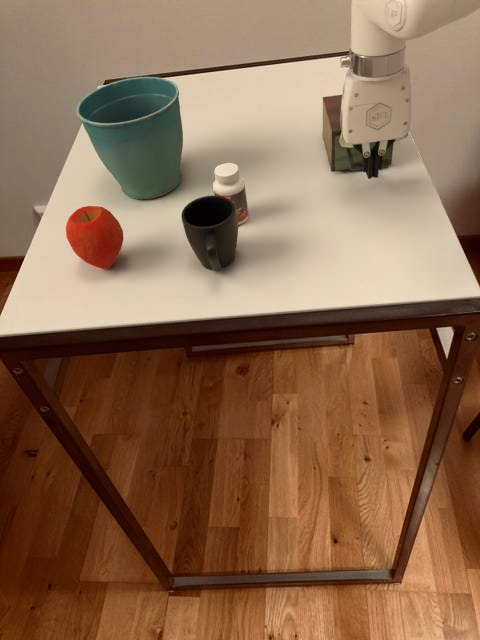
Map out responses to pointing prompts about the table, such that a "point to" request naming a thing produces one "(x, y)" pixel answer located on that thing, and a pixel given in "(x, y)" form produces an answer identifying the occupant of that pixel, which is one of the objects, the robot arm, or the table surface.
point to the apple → (95, 235)
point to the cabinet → (333, 126)
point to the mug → (212, 230)
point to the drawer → (354, 157)
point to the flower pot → (137, 133)
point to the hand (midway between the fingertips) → (371, 173)
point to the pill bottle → (232, 188)
